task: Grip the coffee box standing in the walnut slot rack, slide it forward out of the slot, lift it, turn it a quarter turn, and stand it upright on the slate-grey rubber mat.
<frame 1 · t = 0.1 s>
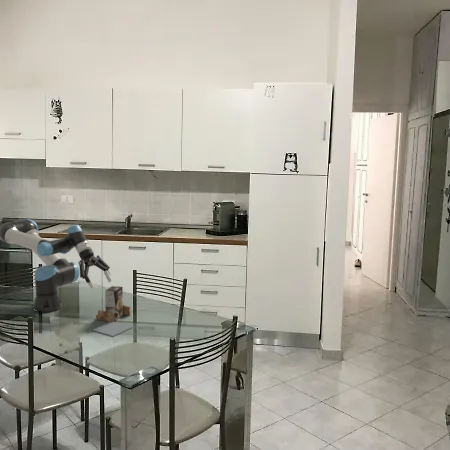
hand: (101, 284, 279), 15 cm above the table, tool tilted 35°, fingers open, 13 cm apart
coffee box: (114, 317, 273), on the table
rubber mat: (112, 329, 256), on the table
slot rack: (114, 317, 273), on the table
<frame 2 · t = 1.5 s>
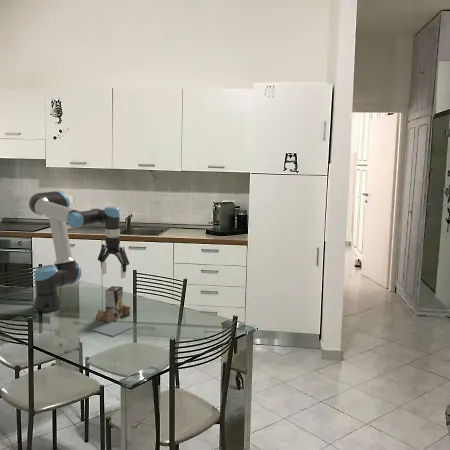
hand: (113, 275, 269), 23 cm above the table, tool pointing down, fingers open, 13 cm apart
nothing on the table moved.
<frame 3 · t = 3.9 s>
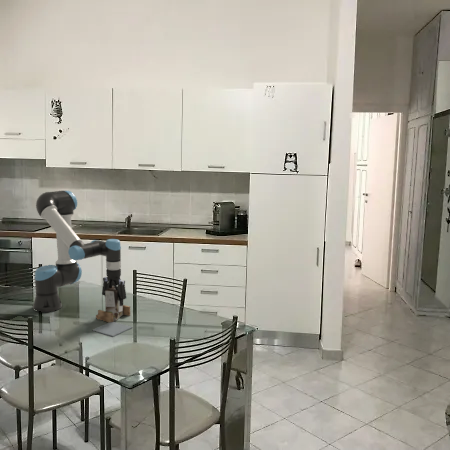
hand: (114, 309, 272), 4 cm above the table, tool pointing down, fingers closed on coffee box, 8 cm apart
coffee box: (114, 317, 273), on the table, touching gripper
when the fingers open (6 cm above the table, at t = 12.0 s): coffee box stays where it is, resting on rubber mat.
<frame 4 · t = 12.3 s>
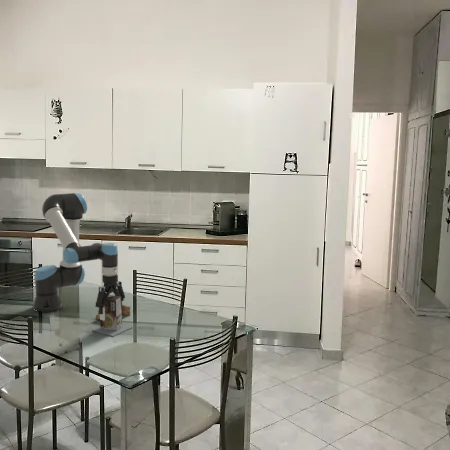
hand: (110, 316, 255), 7 cm above the table, tool pointing down, fingers open, 11 cm apart
coffee box: (111, 328, 257), resting on rubber mat
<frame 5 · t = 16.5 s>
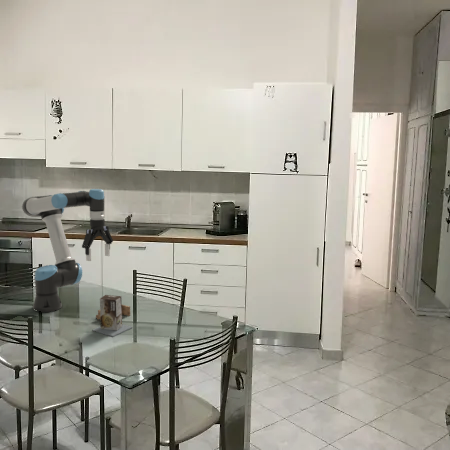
hand: (98, 258, 270), 32 cm above the table, tool pointing down, fingers open, 13 cm apart
nothing on the table moved.
at the end: coffee box inside the target area (0.5 cm from its centre), resting on rubber mat; coffee box tilted 0°; the gripper is holding nothing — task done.
